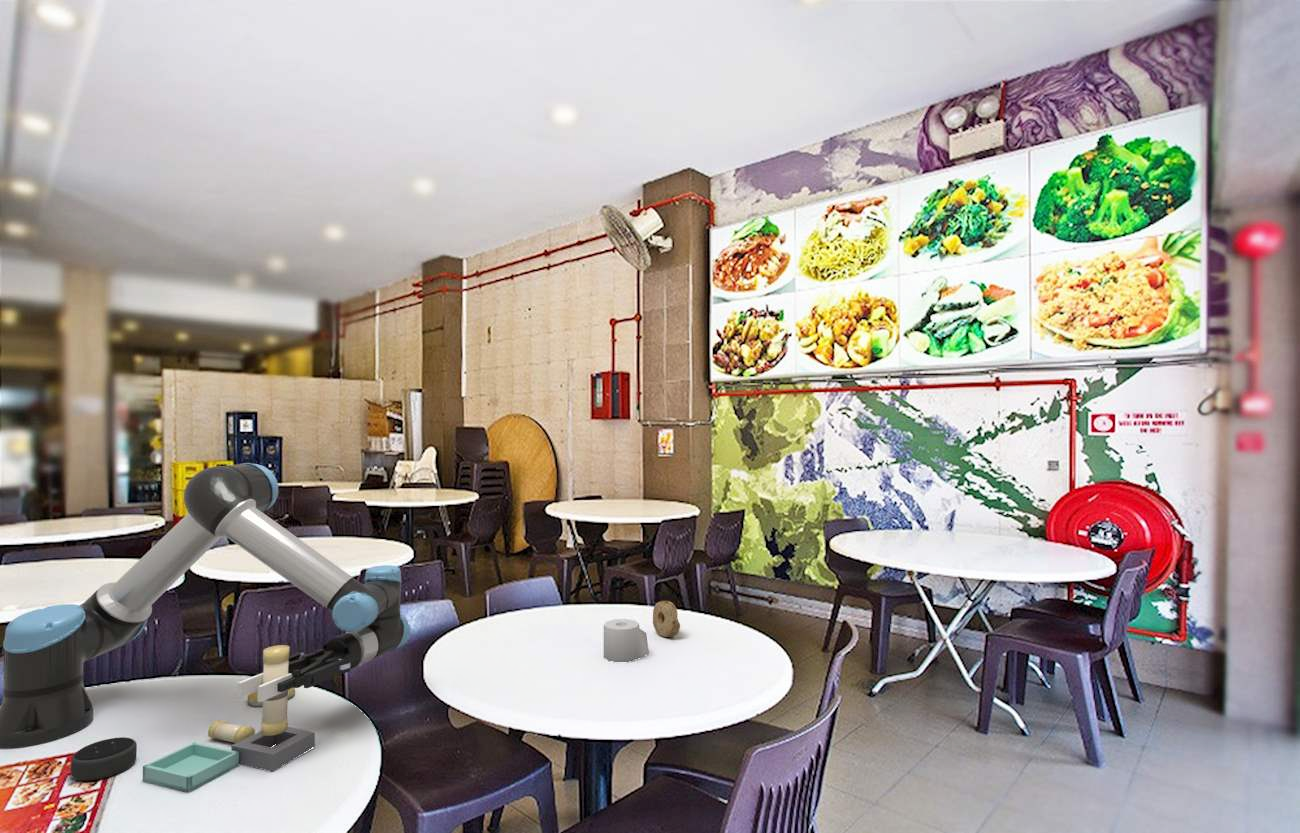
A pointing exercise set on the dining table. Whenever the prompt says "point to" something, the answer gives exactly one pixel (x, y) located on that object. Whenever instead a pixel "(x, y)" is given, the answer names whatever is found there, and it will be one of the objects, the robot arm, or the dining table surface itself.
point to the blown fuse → (277, 705)
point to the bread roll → (254, 698)
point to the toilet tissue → (624, 640)
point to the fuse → (229, 731)
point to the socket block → (274, 748)
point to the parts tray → (190, 767)
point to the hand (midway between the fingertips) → (249, 692)
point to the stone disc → (665, 619)
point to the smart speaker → (103, 759)
